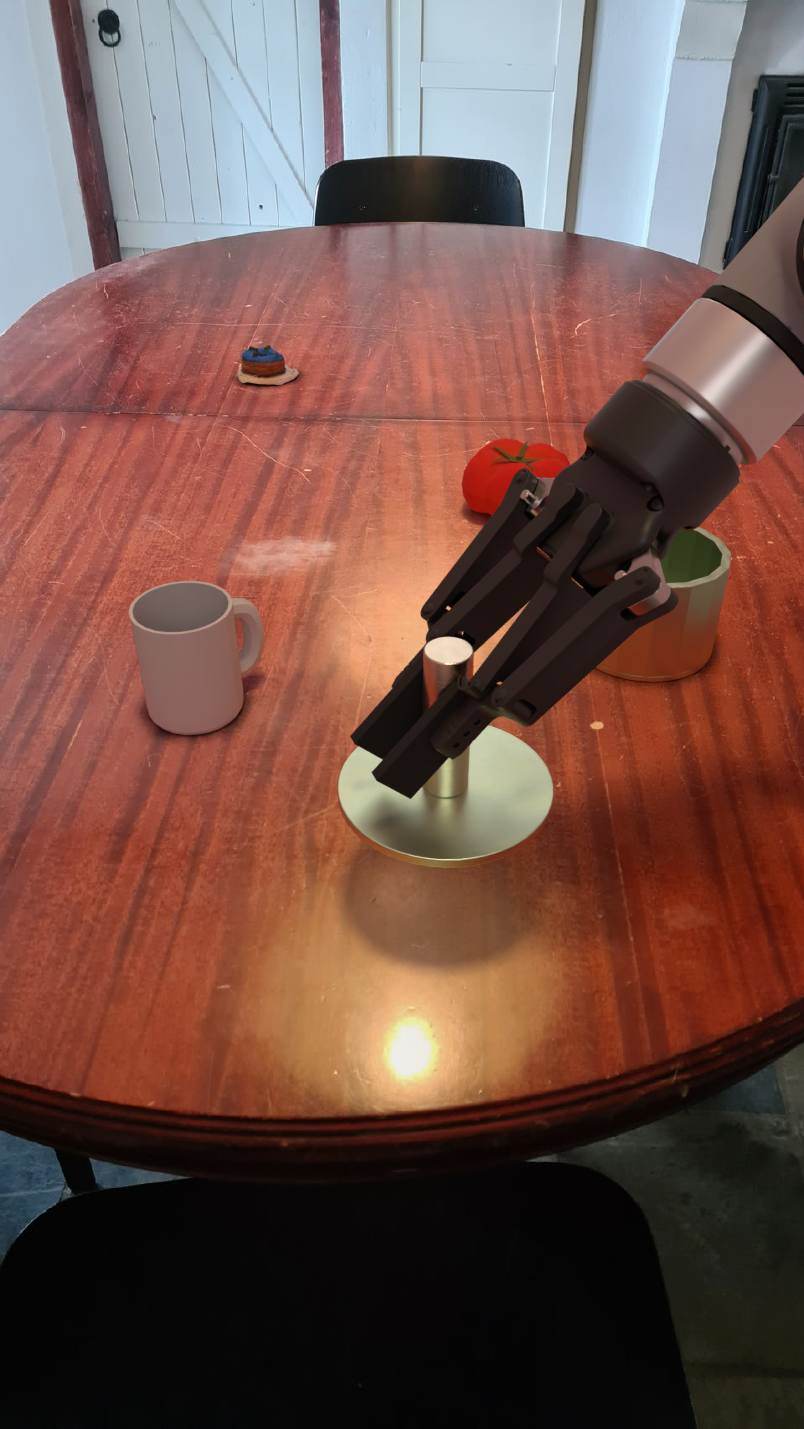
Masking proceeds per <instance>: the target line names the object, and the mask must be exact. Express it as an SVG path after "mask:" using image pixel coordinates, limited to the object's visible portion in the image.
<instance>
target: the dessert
mask: <svg viewBox="0 0 804 1429" xmlns="http://www.w3.org/2000/svg"><path fill="white" fill-rule="evenodd" d="M240 358H241V360H240V361H241V364H240V367H239V369H238V371H237V379H238V382H240V383H241V384H246V383H250V384H251V383H252V384H257V385H277V386H281V385H284V384H286V383H288V382H290V381H292V380H295V378H297V377H298V375H299V374H300V373H299V371H298V370H297V369H296V367H293V368H291V367H290V366H289V365H287V364H286V360H285V357H284V355H283V354H282V353H280V352H278V351H277V350H275V349H274V348H272V346H271V344H268V345H265V347H255V346H252V345H250V346H249V347H248V349H246V350H244V352H242V354H241V355H240Z"/></svg>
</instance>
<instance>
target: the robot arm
mask: <svg viewBox="0 0 804 1429" xmlns="http://www.w3.org/2000/svg"><path fill="white" fill-rule="evenodd" d="M640 374H641V376H642V377H643V379H642V380H640V379H636V378H635V379H631V380H625V381H624V382H623V383H622V385H621V386H619V388H618V389H617V390H616V391H615V392H614V394H613V395H612V396H611V397H610V398H609V399H608V401H606V402H605V404H604V405H603V406H602V407H601V408H600V409H599V411H598V412H597V413H596V414H595V415H594V416H593V418H592V419H591V420H590V421H589V422H588V423H587V424H586V425H585V427H584V429H583V434H582V436H583V441H584V443H585V444H586V445H585V446H586V447H585V450H584V452H583V453H582V455H581V456H580V457H579V458H577V459H576V460H575V461H574V462H572V463H570V465H569V466H567V467H566V468H564V469H563V470H561V471H560V472H559V473H558V474H557V476H556V477H555V478H538V477H536V476H535V475H534V474H533V473H532V472H531V471H530V470H529V469H528V468H522V469H520V470H519V471H518V472H517V473H516V474H515V475H514V477H513V478H512V481H511V483H510V485H509V487H508V489H507V491H506V493H505V496H504V498H503V500H502V502H501V504H500V505H499V507H498V508H497V509H496V511H495V512H494V513H493V515H490V517H489V519H488V520H487V521H486V522H485V523H484V525H483V527H482V528H481V529H480V530H479V531H478V532H477V534H476V536H475V537H474V538H473V539H472V541H471V542H470V544H468V545H467V547H466V548H465V550H464V551H463V553H462V554H461V555H460V557H459V558H458V559H457V560H456V562H454V564H453V566H452V567H451V568H450V570H449V571H448V572H447V574H446V575H445V576H444V577H443V579H442V580H441V582H440V583H439V584H438V585H437V587H436V588H435V589H434V590H433V592H432V593H431V594H430V596H429V597H428V598H427V599H426V601H425V602H424V604H423V605H422V607H421V609H420V618H421V619H423V620H424V621H426V625H427V629H428V631H427V632H426V634H425V644H423V646H422V647H421V648H420V650H419V651H418V652H417V653H416V654H415V655H414V657H413V658H412V659H411V660H410V661H409V662H408V663H407V664H406V666H405V667H403V669H402V670H401V671H400V672H399V673H398V674H397V675H396V677H395V678H394V681H393V682H392V684H391V689H390V690H389V691H388V693H386V695H385V696H384V697H383V698H382V699H381V700H380V702H378V704H377V705H376V706H375V707H374V708H373V709H372V711H371V712H369V714H368V715H367V716H366V717H365V719H364V720H363V721H362V722H361V723H360V724H359V725H358V727H356V729H355V730H353V732H352V733H351V734H350V735H349V738H350V739H351V742H353V744H354V745H355V746H356V747H358V746H359V747H361V748H362V749H364V750H366V751H368V752H370V753H371V754H373V755H375V756H377V757H379V758H380V759H382V761H381V762H380V763H379V764H378V766H377V767H376V768H375V769H374V770H373V771H372V774H373V776H374V777H375V779H376V781H378V782H379V783H381V784H383V785H385V786H387V787H389V788H391V789H393V790H394V791H396V792H398V793H400V794H402V795H404V796H406V797H407V798H409V799H411V798H412V797H413V796H414V795H415V794H416V793H417V792H418V791H419V790H420V789H421V788H422V786H423V785H424V784H425V783H426V782H427V781H428V780H429V779H430V778H431V777H432V776H433V774H434V773H435V772H436V771H437V770H438V769H439V768H440V767H441V766H442V765H443V764H444V762H445V761H446V760H447V759H448V758H450V759H452V760H453V759H455V758H457V757H458V756H460V755H461V754H462V753H463V752H464V751H465V750H466V749H467V747H468V746H470V744H471V743H472V742H473V741H474V740H475V739H476V738H477V737H478V736H479V735H480V734H481V733H482V731H483V730H484V729H485V728H486V727H487V726H488V725H490V724H491V723H492V722H493V721H494V720H496V719H498V718H502V717H503V718H506V719H508V720H511V721H513V722H516V723H518V724H519V725H521V726H522V727H525V728H528V727H531V726H533V725H534V724H535V723H537V722H538V721H539V720H540V719H541V718H542V717H543V716H544V715H545V714H547V713H548V712H549V711H550V710H551V709H552V708H553V707H555V705H556V704H558V703H559V701H560V700H562V699H563V698H564V697H565V696H566V695H567V694H568V693H569V692H570V691H571V690H573V689H574V688H575V687H576V686H577V685H578V684H580V682H581V681H583V680H584V679H585V678H586V677H587V676H588V675H589V674H590V673H591V672H592V671H593V670H595V669H596V667H597V666H598V665H599V664H600V663H601V662H602V661H603V660H604V659H605V658H607V657H608V656H609V655H610V654H611V653H612V652H613V651H614V650H615V649H616V648H618V647H619V646H620V645H621V644H622V643H623V642H624V641H625V640H626V639H627V638H629V637H630V636H631V635H632V634H633V633H634V632H635V631H636V630H637V629H638V628H640V627H642V626H644V625H646V624H648V623H650V622H652V621H654V620H656V619H657V618H659V617H661V616H663V615H665V614H667V613H669V612H671V611H672V610H673V609H674V608H675V607H676V606H677V604H678V601H679V596H678V595H677V593H676V592H675V591H674V590H673V589H672V588H671V587H670V586H669V585H668V584H667V583H666V582H665V578H664V574H663V570H662V567H661V563H660V561H661V560H662V559H663V558H664V557H665V555H666V554H667V552H668V550H669V547H670V544H671V542H672V540H673V538H674V537H675V535H676V534H677V532H678V531H679V530H680V529H684V530H694V529H696V528H698V527H700V526H701V525H702V524H703V523H704V522H705V521H706V520H707V519H708V517H710V515H711V514H712V513H713V512H714V511H716V509H717V508H718V507H719V506H720V504H722V502H724V500H725V499H726V498H727V497H729V495H730V494H731V493H732V492H733V490H734V489H736V487H737V486H739V484H740V482H741V481H740V477H741V470H740V468H739V465H740V464H741V465H742V466H749V465H757V464H758V462H760V460H761V459H762V458H763V457H764V456H765V455H766V454H767V453H768V452H769V451H770V449H772V447H773V446H774V445H775V444H776V443H777V442H778V441H779V440H780V439H781V437H783V435H785V433H786V432H787V431H788V430H789V429H790V428H791V427H792V426H793V425H794V424H795V423H796V421H798V419H799V418H800V417H801V416H802V415H803V414H804V172H802V177H801V178H800V180H799V181H798V183H797V184H796V185H795V187H794V188H793V189H792V190H791V191H790V192H789V193H788V195H787V196H786V197H785V198H784V199H783V200H782V202H781V203H780V204H779V205H778V206H777V207H776V209H775V210H774V211H773V212H772V214H771V215H769V217H768V219H766V221H765V222H764V223H763V224H762V225H761V226H760V228H759V229H758V230H757V231H756V232H755V233H754V235H753V236H752V237H751V238H750V239H749V241H748V242H747V243H745V245H744V246H743V247H742V249H741V250H740V251H739V252H738V253H737V254H736V256H735V257H734V258H733V259H732V260H731V261H730V262H729V263H728V265H727V266H726V267H725V268H724V269H723V271H722V272H721V273H720V274H719V275H718V276H717V277H716V279H715V280H714V281H713V282H712V283H711V285H710V286H709V287H708V288H706V290H705V291H704V292H703V293H702V294H701V296H700V297H699V298H698V299H696V300H694V302H693V303H692V304H691V305H690V306H689V307H688V309H687V310H685V312H684V313H683V314H682V315H681V316H680V317H679V319H677V320H676V322H675V323H674V324H673V325H672V326H671V327H670V328H669V329H668V331H667V332H666V333H665V334H664V335H663V336H662V337H661V338H660V340H659V341H658V342H657V343H656V344H655V345H654V346H653V347H652V349H651V350H649V351H648V353H647V354H646V355H645V356H644V357H643V359H642V360H641V361H640ZM575 581H576V582H577V583H578V584H579V585H581V586H582V587H583V588H581V587H580V586H579V585H578V584H577V583H576V582H575ZM448 608H450V609H448ZM519 612H520V613H519ZM518 613H519V615H517V614H518ZM515 615H517V617H516V619H515V620H514V621H513V622H512V624H511V625H510V626H509V628H508V629H507V631H506V632H505V633H504V634H503V636H501V638H500V640H499V641H498V643H496V645H495V646H494V647H493V649H492V650H491V651H490V653H489V654H488V656H486V658H485V659H484V661H483V662H482V664H480V666H479V667H478V669H477V670H476V671H475V673H473V677H472V678H471V679H470V681H469V680H467V679H466V678H465V677H463V676H462V675H460V676H459V677H458V680H457V683H456V682H455V681H453V682H452V683H451V684H450V686H449V687H448V688H447V689H446V690H445V691H444V692H443V693H442V694H441V696H440V697H439V698H438V699H437V700H436V701H435V702H434V703H433V704H432V706H431V707H430V708H429V709H428V710H427V711H426V712H425V713H424V714H423V650H424V647H425V645H426V644H427V643H428V642H429V641H431V640H433V639H436V638H440V637H456V638H460V639H463V640H465V641H467V642H469V643H470V644H471V645H472V647H473V649H474V654H475V653H476V652H477V651H478V650H480V648H481V647H482V646H483V645H485V643H487V642H488V641H489V639H491V638H492V637H493V636H494V635H495V634H497V632H499V631H500V630H501V629H502V627H504V626H505V625H506V624H507V623H508V622H510V620H511V619H512V618H514V616H515ZM474 667H475V666H474V665H473V668H474ZM499 683H500V684H499Z"/></svg>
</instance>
